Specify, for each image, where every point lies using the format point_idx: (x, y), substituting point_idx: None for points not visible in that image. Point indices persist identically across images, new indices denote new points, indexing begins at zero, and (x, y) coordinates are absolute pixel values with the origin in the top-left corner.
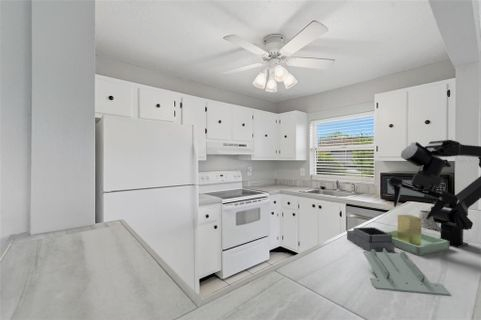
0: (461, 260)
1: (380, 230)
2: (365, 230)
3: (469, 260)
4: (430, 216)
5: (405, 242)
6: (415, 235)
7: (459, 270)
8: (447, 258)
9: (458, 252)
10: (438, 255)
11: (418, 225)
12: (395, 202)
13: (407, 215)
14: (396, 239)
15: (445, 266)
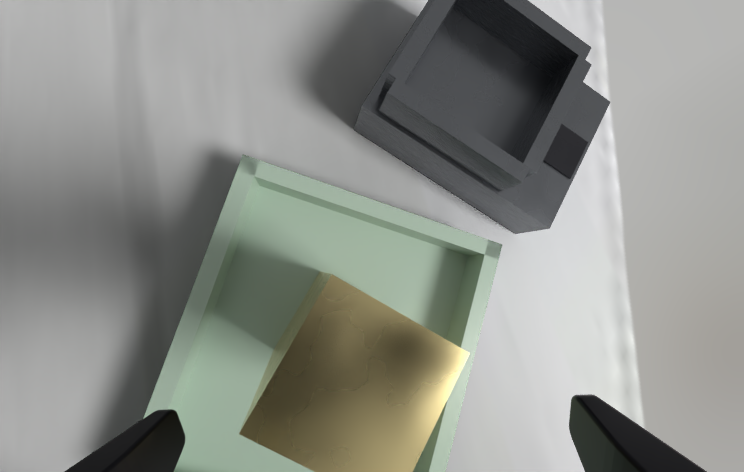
0: (64, 291)
1: (470, 137)
2: (539, 119)
3: (25, 334)
4: (105, 448)
5: (322, 187)
6: (294, 318)
7: (65, 114)
8: (129, 258)
9: (86, 446)
10: (174, 268)
11: (272, 366)
12: (636, 442)
13: (392, 433)
14: (376, 203)
15: (125, 117)
